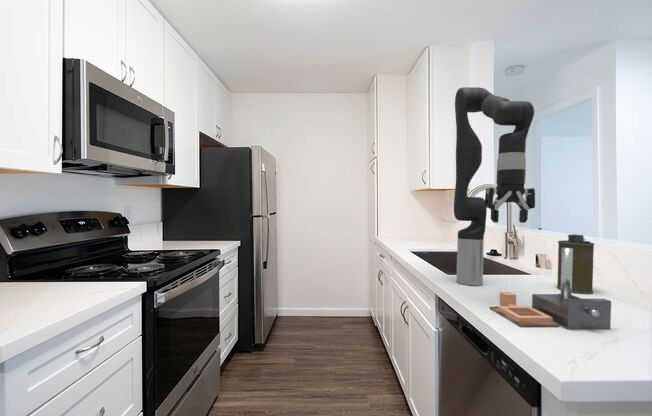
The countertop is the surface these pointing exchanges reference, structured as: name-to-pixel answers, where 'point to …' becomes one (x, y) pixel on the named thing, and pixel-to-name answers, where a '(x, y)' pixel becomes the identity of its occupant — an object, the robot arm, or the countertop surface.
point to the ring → (520, 310)
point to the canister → (578, 263)
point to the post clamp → (573, 303)
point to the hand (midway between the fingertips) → (508, 222)
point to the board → (525, 324)
